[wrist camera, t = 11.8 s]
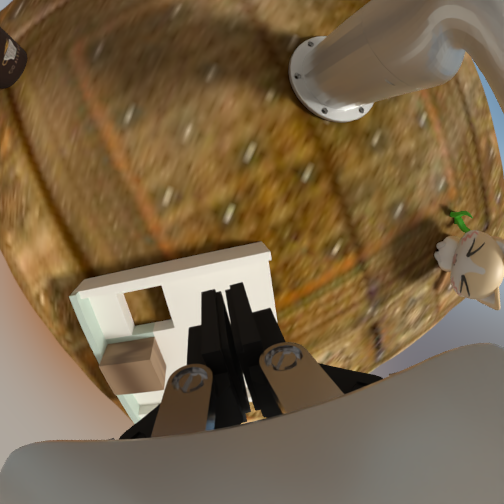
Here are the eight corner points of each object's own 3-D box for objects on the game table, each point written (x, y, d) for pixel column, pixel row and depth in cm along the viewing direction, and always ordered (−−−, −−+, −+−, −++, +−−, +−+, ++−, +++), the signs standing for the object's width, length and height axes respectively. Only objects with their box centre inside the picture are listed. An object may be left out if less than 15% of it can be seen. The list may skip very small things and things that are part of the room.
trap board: (261, 241, 36) (272, 253, 31) (281, 373, 43) (291, 396, 38) (84, 279, 33) (68, 296, 28) (138, 400, 40) (134, 423, 35)
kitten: (437, 202, 40) (508, 221, 26) (468, 213, 42) (529, 231, 28) (417, 287, 44) (477, 326, 29) (449, 288, 46) (503, 320, 32)
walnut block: (154, 336, 35) (150, 359, 30) (166, 365, 36) (164, 389, 31) (107, 344, 34) (98, 366, 29) (121, 372, 35) (115, 395, 30)
